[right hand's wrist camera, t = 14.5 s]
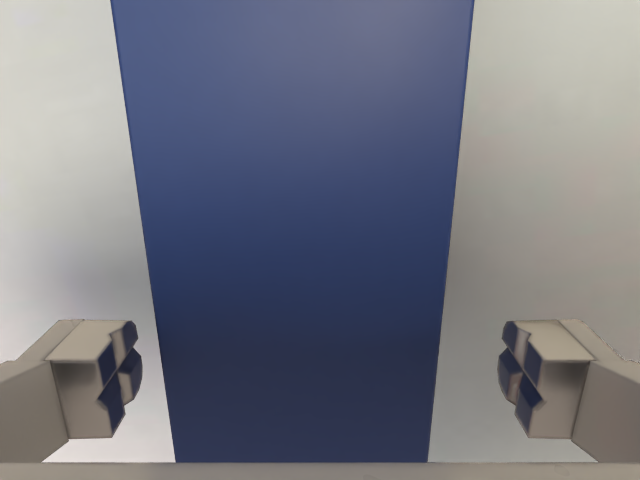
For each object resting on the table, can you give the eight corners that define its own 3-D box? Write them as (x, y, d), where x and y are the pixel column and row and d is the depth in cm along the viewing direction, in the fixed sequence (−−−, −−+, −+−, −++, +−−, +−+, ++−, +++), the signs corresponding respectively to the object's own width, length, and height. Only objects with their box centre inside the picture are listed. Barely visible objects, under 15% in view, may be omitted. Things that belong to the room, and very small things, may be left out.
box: (373, 295, 21) (427, 478, 12) (237, 297, 21) (177, 484, 11) (398, -307, 14) (591, -1116, 5) (194, -311, 14) (-57, -1150, 4)
